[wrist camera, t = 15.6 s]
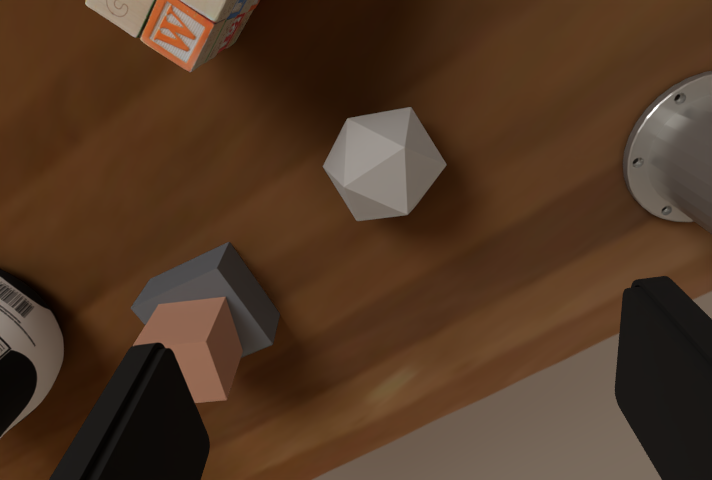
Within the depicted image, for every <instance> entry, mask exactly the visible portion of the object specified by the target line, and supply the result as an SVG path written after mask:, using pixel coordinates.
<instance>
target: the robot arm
mask: <svg viewBox="0 0 712 480" xmlns="http://www.w3.org/2000/svg"><path fill="white" fill-rule="evenodd" d="M676 95H677V96H676ZM675 97H676V98H675ZM634 160H635V161H634ZM623 172H624V179H625V182H626V185H627V188H628V190H629V192H630V193H631V195H632V196H633V198H634V199H635V200H636V201H637V202H638V203H639V204H640V205H641V206H642V207H643V208H645V209H646V210H647V211H649V212H650V213H651V214H653V215H655V216H657V217H659V218H662V219H665V220H670V221H675V222H696V223H697V224H698V225H700V226H701V227H702V228H704V229H705V230H706V231H708V232H709V233H710V234H712V71H708V72H704V73H701V74H698V75H695V76H692V77H689V78H687V79H685V80H683V81H682V82H680V83H678V84H676V85H674V86H672V87H671V88H670V89H668V90H667V91H666V92H664V93H663V94H661V95H660V96H659V97H658V98H657V99H656V100H655V101H654V102H653V103H652V104H651V105H650V106H649V107H648V108H647V109H646V110H645V111H644V113H643V114H642V115H641V117H640V118H639V119H638V121H637V122H636V124H635V126H634V128H633V130H632V132H631V134H630V135H629V138H628V141H627V144H626V147H625V151H624V159H623ZM615 396H616V399H617V403H618V405H619V407H620V409H621V411H622V413H623V414H624V416H625V418H626V420H627V421H628V423H629V425H630V426H631V428H632V429H633V431H634V433H635V435H636V436H637V438H638V439H639V441H640V443H641V445H642V446H643V448H644V450H645V451H646V453H647V455H648V457H649V458H650V460H651V462H652V463H653V465H654V467H655V468H656V470H657V472H658V473H659V475H660V477H661V479H662V480H712V319H711V318H710V317H709V316H708V315H707V314H706V313H705V312H704V311H703V310H702V309H701V308H700V307H699V306H698V305H697V304H696V303H695V302H693V300H692V299H691V298H690V297H689V296H688V295H687V294H686V293H685V292H684V291H683V290H682V289H681V288H680V287H679V286H677V285H676V284H675V283H674V282H673V281H672V280H671V279H670V278H669V277H666V276H661V277H653V278H646V279H638V280H635V281H633V283H632V286H631V288H627V289H625V290H624V292H623V299H622V311H621V322H620V334H619V346H618V357H617V369H616V381H615ZM209 448H210V442H209V437H208V434H207V431H206V429H205V426H204V424H203V422H202V419H201V417H200V414H199V412H198V410H197V407H196V405H195V402H194V400H193V398H192V395H191V393H190V390H189V388H188V386H187V383H186V381H185V378H184V376H183V374H182V371H181V369H180V366H179V364H178V362H177V359H176V357H175V354H174V352H173V351H172V349H170V348H165V346H164V345H163V344H162V343H159V342H157V343H149V344H142V345H134V346H132V347H131V348H130V349H129V350H128V352H127V353H126V355H125V357H124V358H123V360H122V361H121V363H120V365H119V366H118V368H117V370H116V371H115V373H114V375H113V376H112V378H111V379H110V381H109V383H108V384H107V386H106V388H105V389H104V391H103V393H102V394H101V396H100V397H99V399H98V401H97V402H96V404H95V406H94V407H93V409H92V410H91V412H90V414H89V415H88V417H87V419H86V420H85V422H84V424H83V425H82V427H81V428H80V430H79V432H78V433H77V435H76V437H75V438H74V440H73V441H72V443H71V445H70V446H69V448H68V450H67V451H66V453H65V455H64V456H63V458H62V459H61V461H60V463H59V464H58V466H57V468H56V469H55V471H54V472H53V474H52V476H51V477H50V479H49V480H201V476H202V473H203V470H204V467H205V464H206V461H207V457H208V454H209Z"/></svg>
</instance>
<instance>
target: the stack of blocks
mask: <svg viewBox="0 0 712 480" xmlns="http://www.w3.org/2000/svg"><path fill="white" fill-rule="evenodd" d="M259 1H260V0H86V1H85V4H86V5H87V6H88V7H89V8H91V9H92V10H94V11H96V12H97V13H99V14H100V15H102V16H103V17H105V18H106V19H108V20H109V21H111V22H112V23H114V24H115V25H117V26H118V27H120V28H121V29H123V30H124V31H126V32H127V33H129V34H130V35H132V36H133V37H135V38H137V37H140V39H141V41H142V42H144V43H145V44H146V45H148V46H149V47H151V48H152V49H154V50H155V51H157V52H159V53H160V54H162V55H163V56H165V57H166V58H168V59H169V60H171V61H173V62H174V63H176V64H177V65H179V66H180V67H182V68H184V69H185V70H187V71H189V72H192V71H193V70H195V69H196V68H198V67H199V66H200V65H202V64H203V63H206V62H207V61H209V60H210V59H212V58H214V57H215V56H216V55H217V54H218V53H219V52H221V51H222V50H223V49H225V48H229V47H230V46H232V45H233V44H234V43H235V42H236V40H237V39H238V37H239V35H240V33H241V31H242V30H243V28H244V26H245V24H246V22H247V21H248V19H249V17H250V15H251V13H252V12H253V10H254V9H255V8H256V7H257V5H258V3H259Z"/></svg>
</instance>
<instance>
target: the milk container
mask: <svg viewBox="0 0 712 480" xmlns="http://www.w3.org/2000/svg"><path fill="white" fill-rule="evenodd" d="M63 357H64V340H63V334H62V331H61V328H60V326H59V323H58V321H57V319H56V317H55V315H54V313H53V312H52V310H51V309H50V308H49V306H48V305H47V304H46V303H45V302H44V301H43V300H42V298H41V297H40V296H39V295H38V294H37V293H36V292H35V291H34V290H33V289H31V288H30V287H29V286H27V285H26V284H25V283H23V282H22V281H20V280H19V279H17V278H16V277H14V276H12V275H11V274H9V273H7V272H5V271H3V270H1V269H0V438H1V437H2V436H3V435H4V434H5V433H6V432H7V431H8V430H10V429H11V428H12V427H14V426H15V425H16V424H17V423H19V422H20V421H21V420H23V419H24V418H25V417H26V416H28V415H29V414H30V413H31V412H32V411H33V410H34V409H35V408H36V407H37V406H38V405H39V404H40V403H41V402H42V401H43V399H44V398H45V397H46V395H47V394H48V392H49V391H50V389H51V387H52V386H53V384H54V382H55V380H56V378H57V375H58V373H59V371H60V368H61V365H62V362H63Z"/></svg>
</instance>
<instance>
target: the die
mask: <svg viewBox="0 0 712 480" xmlns="http://www.w3.org/2000/svg"><path fill="white" fill-rule="evenodd" d="M446 165H447V164H446V163H445V161H444V159H443V158H442V156H441V155H440V153H439V151H438V150H437V148H436V146H435V145H434V143H433V142H432V140H431V138H430V137H429V135H428V134H427V132H426V130H425V129H424V127H423V125H422V124H421V122H420V121H419V119H418V117H417V116H416V114H415V112H414V111H413V109H412V108H411V107H408V108H402V109H397V110H391V111H385V112H380V113H374V114H369V115H363V116H357V117H352V118H347V120H346V122H345V124H344V126H343V128H342V130H341V132H340V134H339V136H338V138H337V140H336V142H335V144H334V145H333V147H332V149H331V151H330V153H329V155H328V157H327V159H326V161H325V163H324V165H323V168H324V169H325V171H326V173H327V174H328V176H329V177H330V179H331V181H332V182H333V184H334V185H335V187H336V189H337V190H338V192H339V193H340V195H341V197H342V198H343V200H344V201H345V203H346V205H347V206H348V208H349V209H350V211H351V212H352V214H353V216H354V217H355V219H356V220H357V221H362V220H371V219H379V218H387V217H395V216H404V215H408V214H409V213H410V212H411V211H412V210H413V209H414V208H415V206H416V205H417V204H418V202H419V201H420V200H421V198H422V197H423V196H424V194H425V193H426V192H427V190H428V189H429V188H430V186H431V185H432V184H433V182H434V181H435V180H436V178H437V177H438V176H439V175H440V173H441V172H442V171H443V169H444V168H445V167H446Z"/></svg>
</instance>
